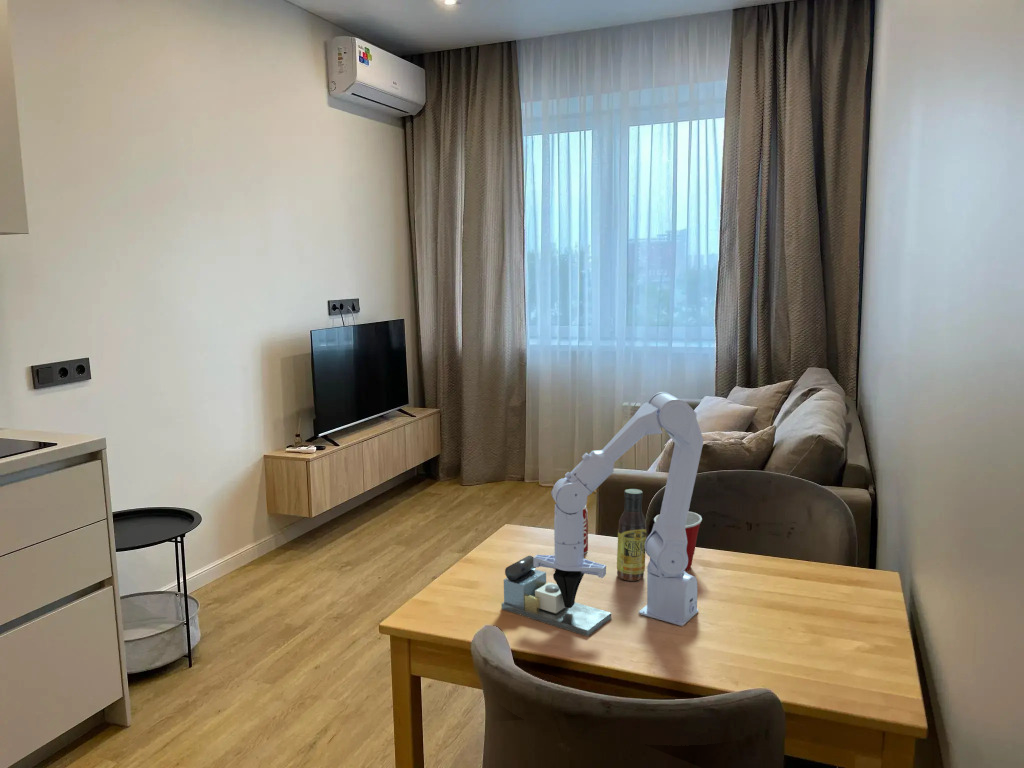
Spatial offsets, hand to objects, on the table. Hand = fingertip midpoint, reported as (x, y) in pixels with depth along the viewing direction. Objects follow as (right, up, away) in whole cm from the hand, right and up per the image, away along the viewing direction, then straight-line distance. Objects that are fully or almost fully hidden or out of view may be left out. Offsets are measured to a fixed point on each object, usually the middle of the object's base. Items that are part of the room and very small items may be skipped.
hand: (569, 605), depth 148 cm
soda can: (+5, +2, +35) cm, 36 cm away
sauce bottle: (+15, 0, +20) cm, 25 cm away
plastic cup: (+27, +1, +25) cm, 37 cm away
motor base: (-3, -2, +3) cm, 5 cm away
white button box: (-3, -1, +3) cm, 4 cm away
